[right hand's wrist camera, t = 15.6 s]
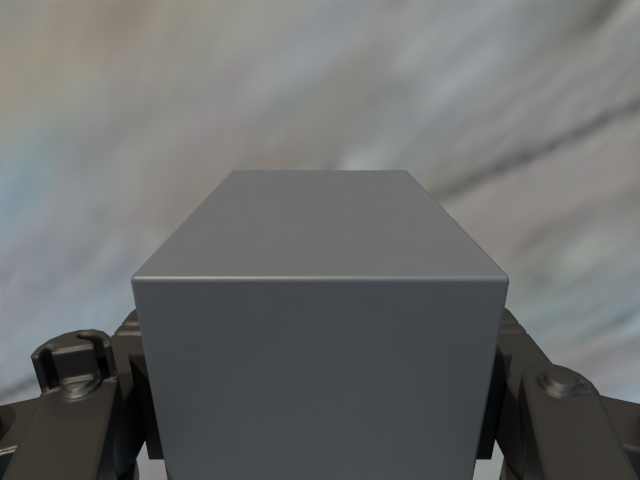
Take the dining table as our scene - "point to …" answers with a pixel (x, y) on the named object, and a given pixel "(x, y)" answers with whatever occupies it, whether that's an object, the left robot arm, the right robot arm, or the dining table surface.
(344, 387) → the bar
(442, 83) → the dining table surface
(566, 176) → the dining table surface
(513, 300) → the dining table surface
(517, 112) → the dining table surface
